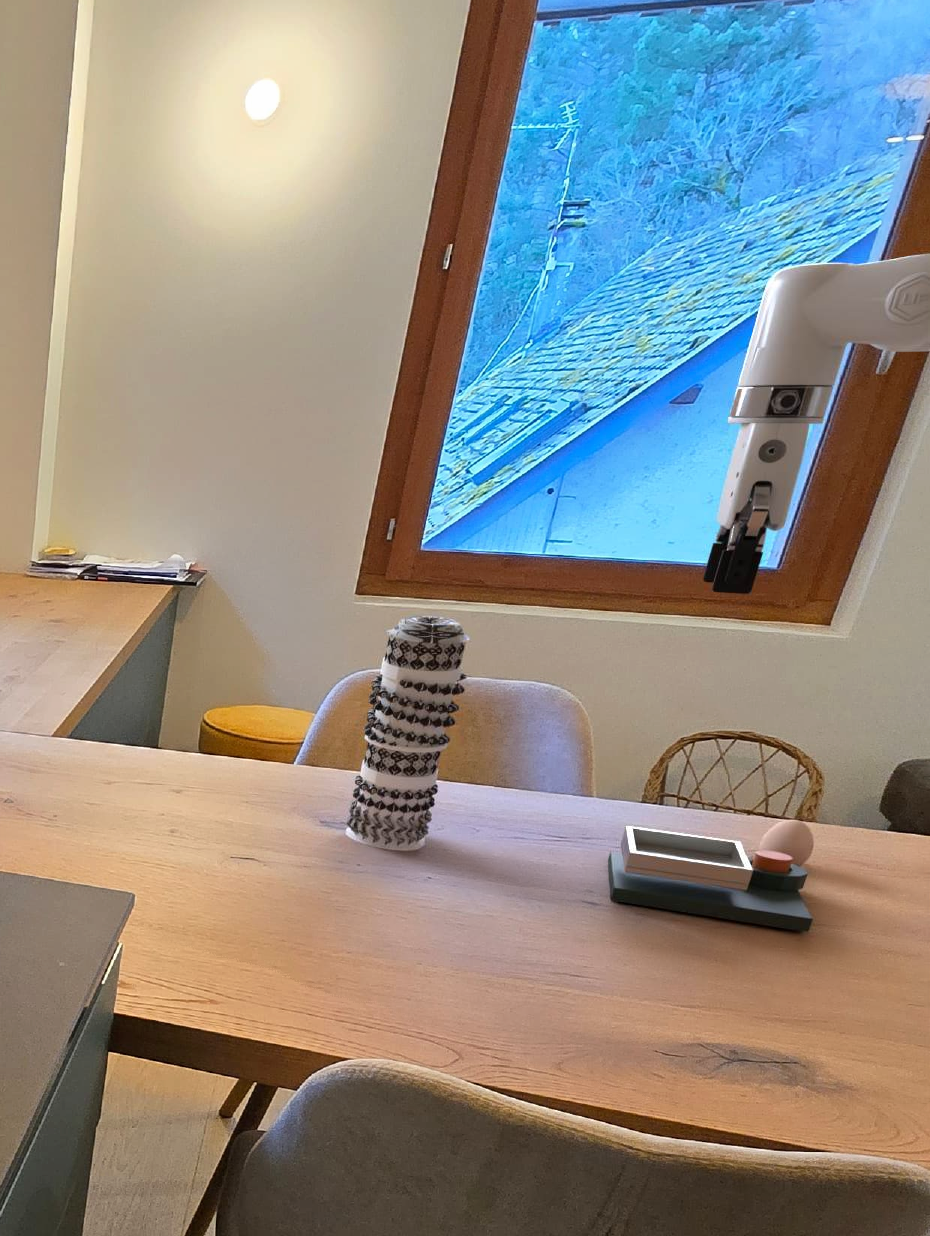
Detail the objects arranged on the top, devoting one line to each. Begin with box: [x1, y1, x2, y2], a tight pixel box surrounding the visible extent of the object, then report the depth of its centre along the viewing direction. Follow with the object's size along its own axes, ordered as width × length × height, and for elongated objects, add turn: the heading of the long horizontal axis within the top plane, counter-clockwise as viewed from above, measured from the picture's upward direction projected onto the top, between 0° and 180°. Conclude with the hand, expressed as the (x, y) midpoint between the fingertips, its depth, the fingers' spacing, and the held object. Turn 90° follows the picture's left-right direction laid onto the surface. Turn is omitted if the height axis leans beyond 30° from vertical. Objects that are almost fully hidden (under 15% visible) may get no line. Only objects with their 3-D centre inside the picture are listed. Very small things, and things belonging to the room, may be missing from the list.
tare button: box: [752, 850, 793, 872], centre depth 122 cm, size 3×3×2 cm
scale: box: [607, 851, 814, 933], centre depth 122 cm, size 16×14×3 cm
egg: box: [758, 819, 815, 867], centre depth 128 cm, size 4×4×6 cm
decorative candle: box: [345, 615, 471, 852], centre depth 132 cm, size 9×9×25 cm
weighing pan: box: [620, 825, 753, 890], centre depth 121 cm, size 10×10×2 cm
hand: (725, 587), depth 124 cm, fingers open, 9 cm apart
